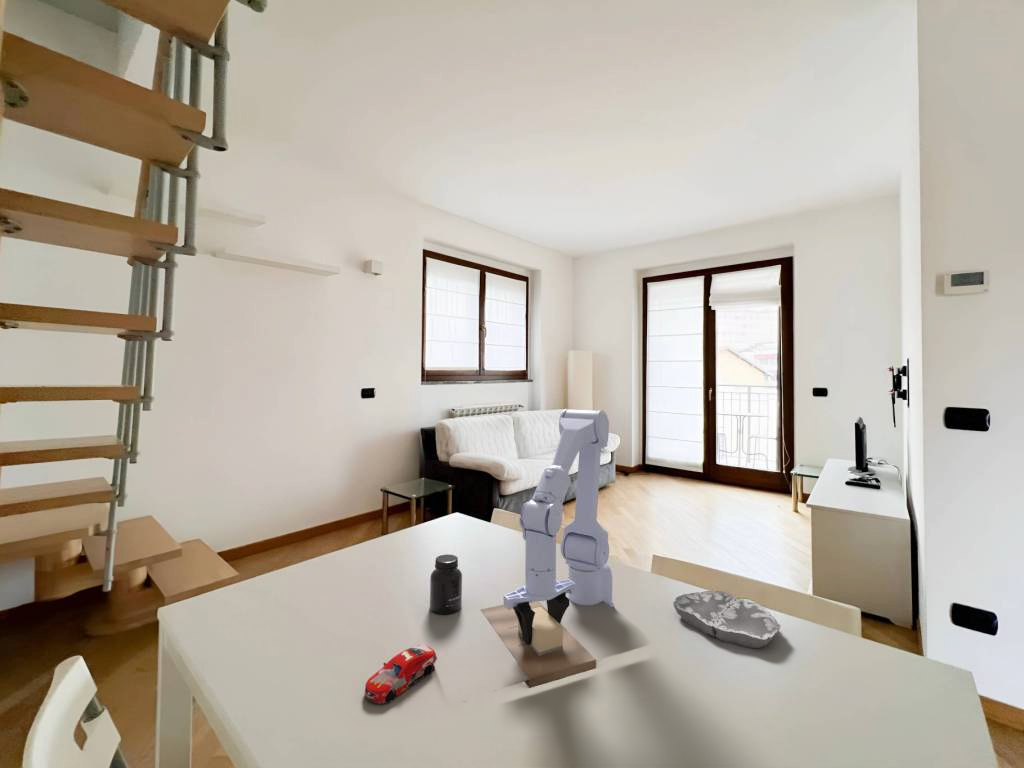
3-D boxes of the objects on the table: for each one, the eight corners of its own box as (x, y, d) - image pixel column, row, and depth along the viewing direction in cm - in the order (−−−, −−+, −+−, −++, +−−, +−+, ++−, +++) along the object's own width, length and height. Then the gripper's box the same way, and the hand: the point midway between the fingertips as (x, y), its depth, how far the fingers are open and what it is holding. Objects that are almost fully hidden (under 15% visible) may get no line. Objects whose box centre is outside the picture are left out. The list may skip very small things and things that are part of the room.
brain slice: (789, 625, 92) (789, 611, 92) (768, 663, 79) (768, 647, 79) (694, 594, 105) (694, 582, 105) (663, 622, 93) (663, 608, 93)
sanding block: (540, 626, 88) (540, 606, 88) (562, 648, 80) (562, 626, 80) (518, 633, 85) (518, 612, 85) (539, 656, 78) (539, 633, 78)
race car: (377, 713, 67) (377, 687, 67) (357, 697, 70) (357, 672, 70) (442, 669, 77) (442, 646, 77) (422, 656, 81) (422, 635, 81)
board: (480, 616, 94) (480, 609, 94) (535, 604, 99) (535, 598, 99) (529, 688, 72) (529, 678, 72) (596, 668, 77) (596, 659, 77)
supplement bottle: (455, 624, 91) (456, 566, 91) (424, 620, 92) (425, 563, 92) (465, 607, 98) (466, 553, 98) (436, 604, 99) (437, 551, 99)
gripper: (561, 551, 90) (560, 618, 90) (496, 564, 83) (496, 636, 83) (581, 564, 83) (581, 636, 83) (513, 579, 77) (513, 657, 77)
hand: (540, 637), depth 83 cm, fingers closed on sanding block, 5 cm apart
